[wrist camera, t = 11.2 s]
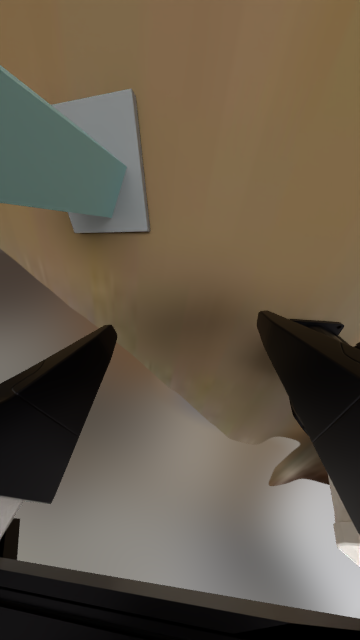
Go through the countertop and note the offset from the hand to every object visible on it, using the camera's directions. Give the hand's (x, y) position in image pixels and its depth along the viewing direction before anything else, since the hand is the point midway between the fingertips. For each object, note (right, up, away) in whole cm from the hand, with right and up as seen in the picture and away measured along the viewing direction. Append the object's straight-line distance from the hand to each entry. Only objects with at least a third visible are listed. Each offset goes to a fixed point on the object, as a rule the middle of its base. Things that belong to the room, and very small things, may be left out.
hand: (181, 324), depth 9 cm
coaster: (-9, +16, +7) cm, 19 cm away
